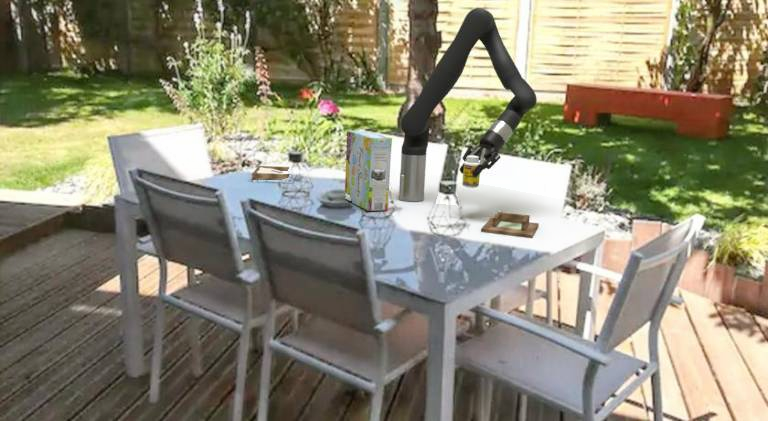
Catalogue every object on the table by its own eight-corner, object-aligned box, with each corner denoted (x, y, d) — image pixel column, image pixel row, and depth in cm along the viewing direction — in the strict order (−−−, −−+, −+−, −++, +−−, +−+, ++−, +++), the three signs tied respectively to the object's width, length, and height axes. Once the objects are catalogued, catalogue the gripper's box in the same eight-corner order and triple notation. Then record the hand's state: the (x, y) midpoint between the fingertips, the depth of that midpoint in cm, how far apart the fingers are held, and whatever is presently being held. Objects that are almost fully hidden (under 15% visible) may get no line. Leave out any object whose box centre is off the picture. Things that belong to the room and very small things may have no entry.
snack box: (390, 211, 248) (393, 137, 242) (367, 212, 244) (370, 138, 238) (364, 197, 267) (366, 129, 261) (343, 199, 263) (345, 129, 257)
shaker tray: (252, 181, 287) (252, 173, 286) (258, 173, 304) (258, 165, 303) (292, 183, 287) (293, 174, 287) (297, 175, 304) (297, 167, 303)
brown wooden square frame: (480, 231, 226) (481, 219, 225) (490, 220, 241) (491, 209, 240) (531, 238, 221) (532, 225, 220) (538, 226, 236) (539, 214, 235)
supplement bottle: (460, 186, 238) (462, 156, 235) (463, 183, 243) (466, 154, 241) (477, 188, 236) (479, 158, 234) (480, 185, 241) (482, 155, 239)
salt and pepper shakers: (253, 181, 289) (280, 183, 288) (253, 171, 288) (280, 173, 287) (260, 176, 301) (286, 178, 300) (260, 166, 300) (286, 168, 299)
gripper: (476, 126, 245) (447, 162, 241) (506, 132, 234) (477, 170, 230) (486, 141, 249) (458, 177, 245) (516, 147, 238) (487, 185, 234)
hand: (467, 173), depth 237 cm, fingers closed on supplement bottle, 5 cm apart
